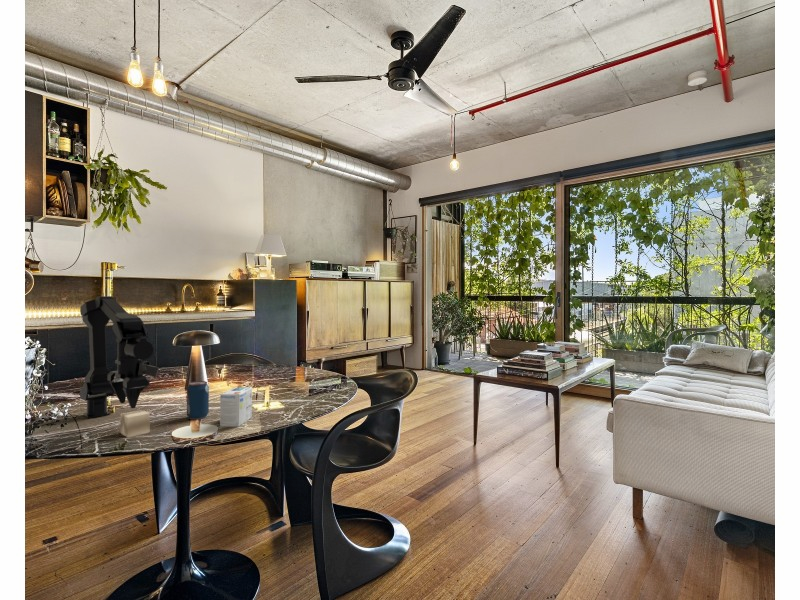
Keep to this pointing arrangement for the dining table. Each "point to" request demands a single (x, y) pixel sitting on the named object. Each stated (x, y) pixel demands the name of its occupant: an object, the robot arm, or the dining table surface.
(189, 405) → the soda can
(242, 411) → the light bulb box
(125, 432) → the maple block
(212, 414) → the dining table surface
